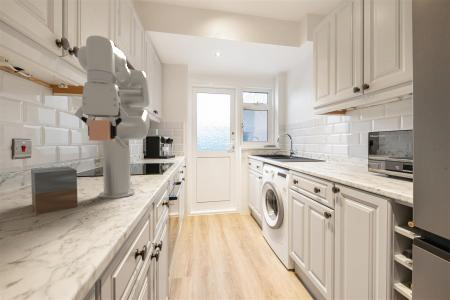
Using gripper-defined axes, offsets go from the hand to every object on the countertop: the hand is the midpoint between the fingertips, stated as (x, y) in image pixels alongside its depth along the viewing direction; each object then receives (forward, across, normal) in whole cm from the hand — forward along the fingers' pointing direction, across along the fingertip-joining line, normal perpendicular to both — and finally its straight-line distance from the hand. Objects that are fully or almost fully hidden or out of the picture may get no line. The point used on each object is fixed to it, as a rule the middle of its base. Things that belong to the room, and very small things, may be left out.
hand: (103, 138), depth 65 cm
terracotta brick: (+1, 0, 0) cm, 1 cm away
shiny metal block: (+22, +17, -6) cm, 29 cm away
